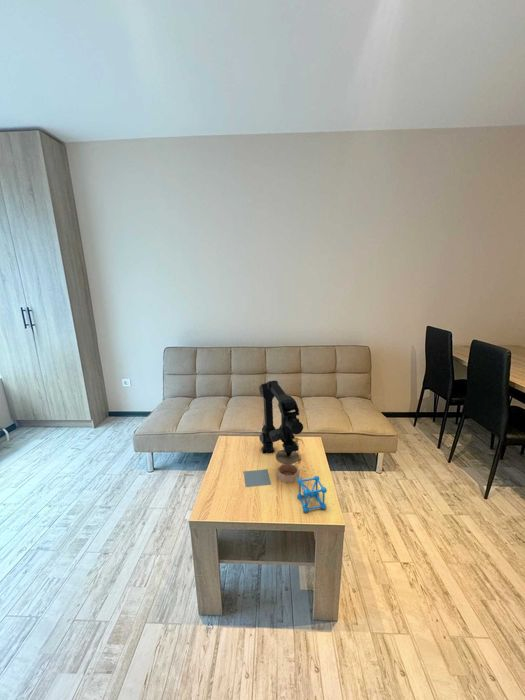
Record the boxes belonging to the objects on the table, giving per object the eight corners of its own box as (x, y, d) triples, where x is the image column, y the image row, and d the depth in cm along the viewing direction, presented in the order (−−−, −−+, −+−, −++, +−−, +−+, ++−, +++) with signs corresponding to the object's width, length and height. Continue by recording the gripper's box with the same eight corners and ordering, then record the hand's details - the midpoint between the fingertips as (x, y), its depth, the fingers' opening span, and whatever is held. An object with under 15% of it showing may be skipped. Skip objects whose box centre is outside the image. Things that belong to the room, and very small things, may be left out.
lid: (274, 452, 147) (274, 443, 146) (296, 450, 149) (296, 441, 148) (277, 465, 137) (277, 455, 136) (301, 463, 138) (301, 453, 137)
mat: (243, 472, 149) (243, 471, 149) (267, 470, 151) (267, 469, 151) (245, 488, 138) (245, 487, 138) (271, 485, 139) (271, 484, 139)
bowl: (276, 471, 149) (276, 464, 148) (295, 470, 150) (295, 462, 150) (279, 484, 140) (279, 477, 139) (300, 482, 141) (300, 475, 140)
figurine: (290, 462, 157) (290, 441, 155) (288, 455, 163) (288, 435, 161) (305, 461, 158) (306, 440, 155) (303, 454, 164) (303, 434, 161)
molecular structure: (327, 510, 124) (327, 488, 121) (303, 514, 122) (304, 492, 119) (317, 494, 133) (318, 474, 131) (296, 497, 131) (296, 477, 129)
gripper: (267, 417, 147) (268, 446, 151) (273, 435, 129) (273, 467, 132) (289, 415, 149) (289, 444, 152) (298, 433, 130) (298, 465, 134)
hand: (287, 454), depth 142 cm, fingers closed on lid, 3 cm apart
